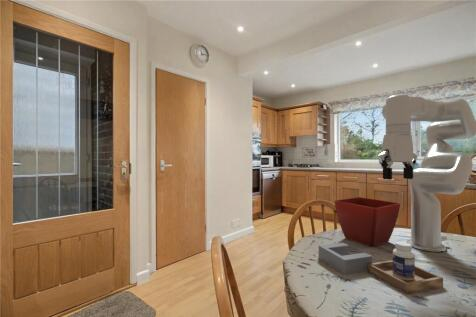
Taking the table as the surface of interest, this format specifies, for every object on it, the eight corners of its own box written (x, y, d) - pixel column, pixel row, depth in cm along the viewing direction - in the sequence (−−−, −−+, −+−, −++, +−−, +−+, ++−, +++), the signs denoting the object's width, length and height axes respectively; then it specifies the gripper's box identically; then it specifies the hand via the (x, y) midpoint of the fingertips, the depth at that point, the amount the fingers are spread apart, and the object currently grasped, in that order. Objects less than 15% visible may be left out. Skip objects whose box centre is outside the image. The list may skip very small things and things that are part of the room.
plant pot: (375, 251, 92) (375, 207, 92) (333, 237, 108) (333, 200, 108) (401, 243, 102) (401, 203, 102) (358, 231, 118) (358, 196, 118)
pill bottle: (388, 272, 74) (388, 240, 74) (405, 272, 74) (405, 240, 74) (401, 281, 68) (401, 247, 68) (419, 281, 69) (419, 246, 69)
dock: (342, 254, 89) (343, 242, 89) (372, 270, 76) (372, 256, 76) (318, 258, 86) (318, 245, 86) (344, 274, 73) (344, 260, 73)
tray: (399, 266, 79) (399, 259, 79) (443, 286, 67) (443, 277, 67) (367, 272, 75) (367, 264, 75) (407, 294, 63) (407, 284, 63)
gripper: (406, 132, 92) (406, 177, 92) (370, 131, 87) (369, 178, 87) (426, 130, 85) (426, 179, 85) (388, 128, 79) (388, 180, 79)
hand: (397, 178), depth 86 cm, fingers open, 9 cm apart
